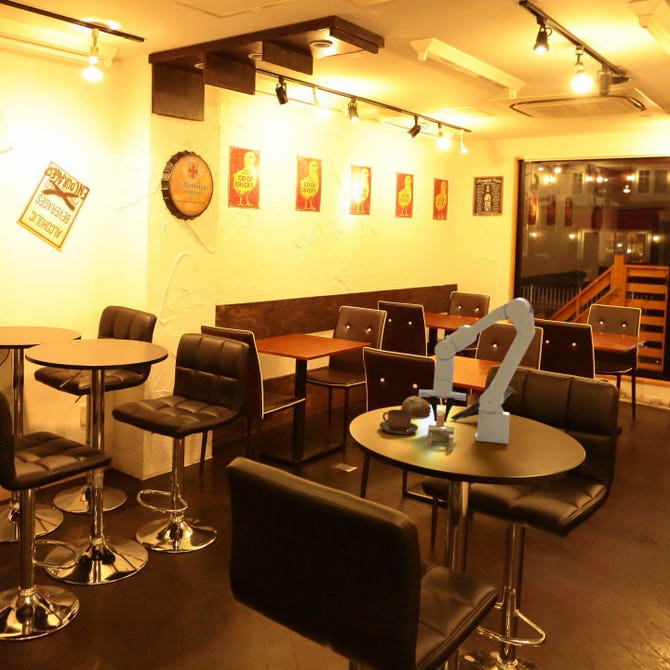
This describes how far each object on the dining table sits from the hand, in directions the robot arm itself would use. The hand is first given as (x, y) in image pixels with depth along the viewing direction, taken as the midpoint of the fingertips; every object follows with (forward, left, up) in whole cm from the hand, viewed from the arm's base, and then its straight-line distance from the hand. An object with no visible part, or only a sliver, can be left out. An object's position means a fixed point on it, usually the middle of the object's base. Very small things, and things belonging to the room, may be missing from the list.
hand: (440, 421), depth 225 cm
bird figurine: (-14, -17, -4) cm, 23 cm away
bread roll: (+9, -21, -4) cm, 23 cm away
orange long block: (0, 0, -3) cm, 3 cm away
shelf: (0, +14, -3) cm, 14 cm away
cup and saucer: (+13, +4, -4) cm, 14 cm away
